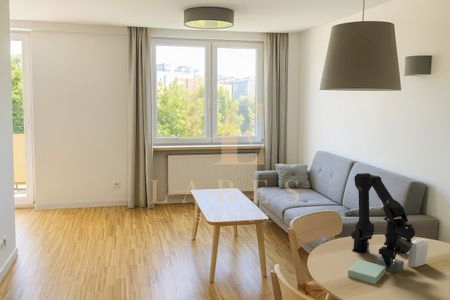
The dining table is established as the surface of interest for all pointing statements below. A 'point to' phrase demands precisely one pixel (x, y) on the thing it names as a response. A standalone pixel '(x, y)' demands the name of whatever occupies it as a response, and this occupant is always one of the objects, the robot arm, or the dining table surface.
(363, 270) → the sage stand
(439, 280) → the dining table surface
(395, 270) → the graphite housing
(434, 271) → the dining table surface
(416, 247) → the photo printer
